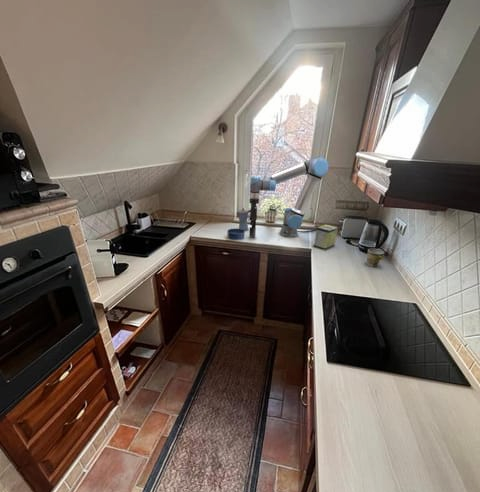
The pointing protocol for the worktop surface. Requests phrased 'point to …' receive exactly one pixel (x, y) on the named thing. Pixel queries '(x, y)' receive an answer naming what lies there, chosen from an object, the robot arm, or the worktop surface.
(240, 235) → the bowl
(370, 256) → the ceramic cup
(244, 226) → the moka pot
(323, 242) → the protein box
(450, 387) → the worktop surface
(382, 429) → the worktop surface
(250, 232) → the crock
